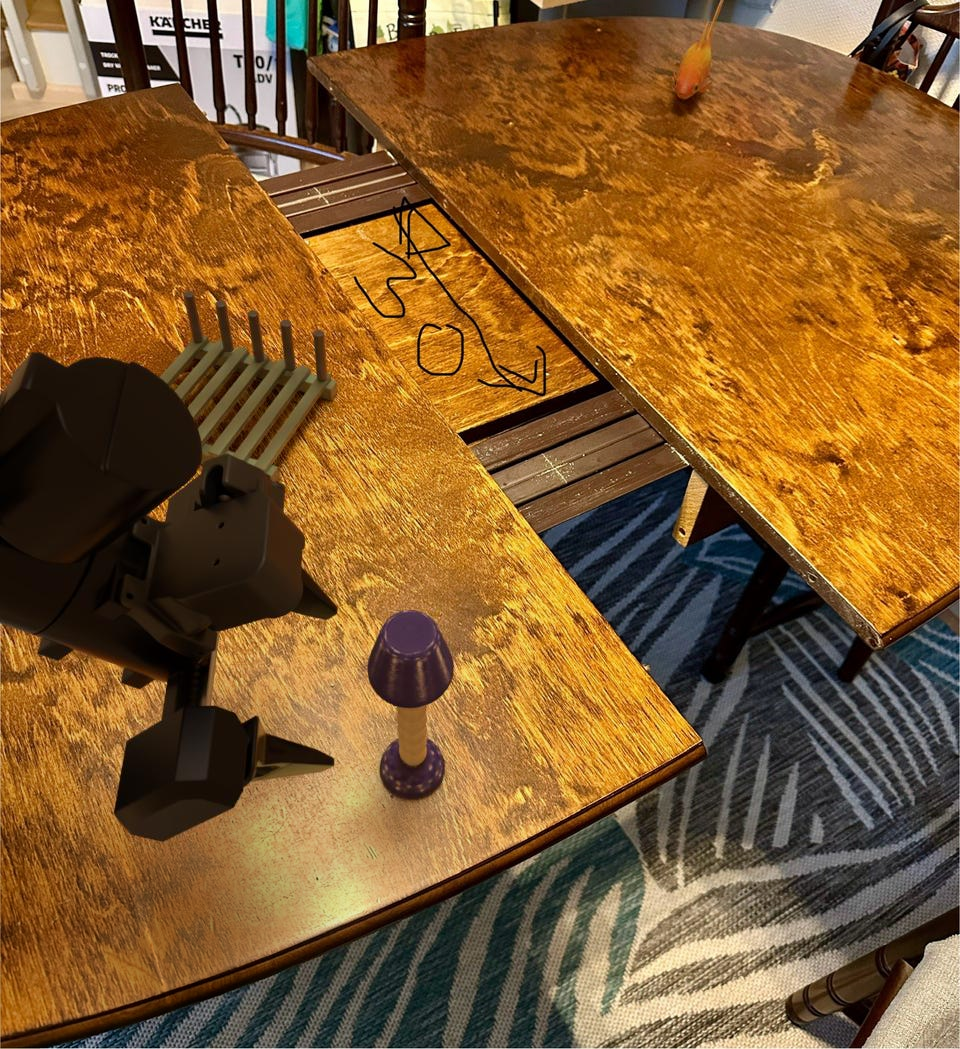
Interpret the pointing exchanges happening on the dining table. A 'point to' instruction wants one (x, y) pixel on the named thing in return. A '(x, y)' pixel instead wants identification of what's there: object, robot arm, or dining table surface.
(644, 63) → the dining table surface
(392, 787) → the toy lamp
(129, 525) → the robot arm
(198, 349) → the rack
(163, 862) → the dining table surface
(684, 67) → the fish
